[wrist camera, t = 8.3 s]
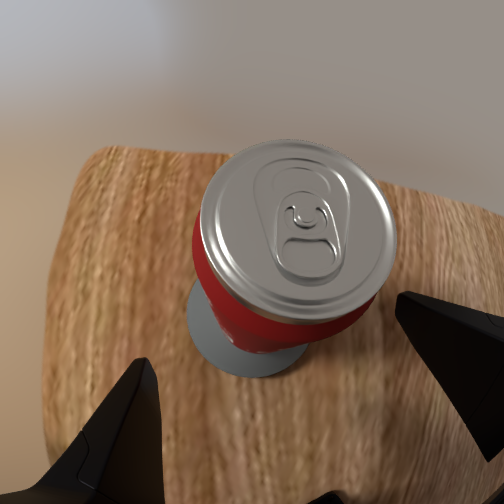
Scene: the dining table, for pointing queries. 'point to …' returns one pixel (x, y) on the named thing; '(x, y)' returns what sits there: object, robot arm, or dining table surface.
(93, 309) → the dining table surface
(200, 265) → the soda can
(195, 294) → the coaster
